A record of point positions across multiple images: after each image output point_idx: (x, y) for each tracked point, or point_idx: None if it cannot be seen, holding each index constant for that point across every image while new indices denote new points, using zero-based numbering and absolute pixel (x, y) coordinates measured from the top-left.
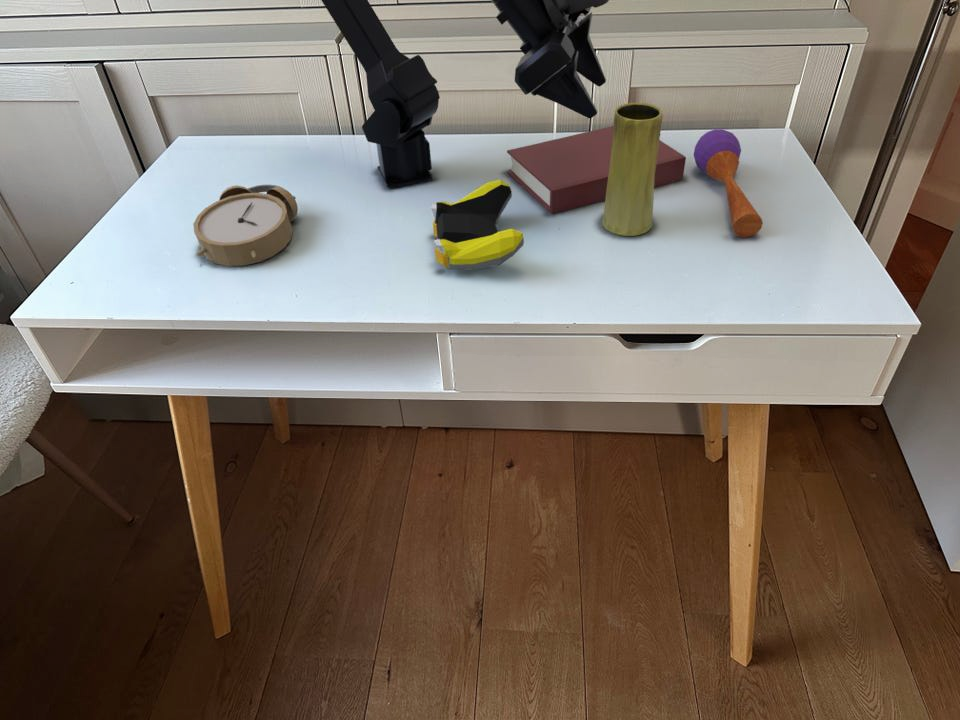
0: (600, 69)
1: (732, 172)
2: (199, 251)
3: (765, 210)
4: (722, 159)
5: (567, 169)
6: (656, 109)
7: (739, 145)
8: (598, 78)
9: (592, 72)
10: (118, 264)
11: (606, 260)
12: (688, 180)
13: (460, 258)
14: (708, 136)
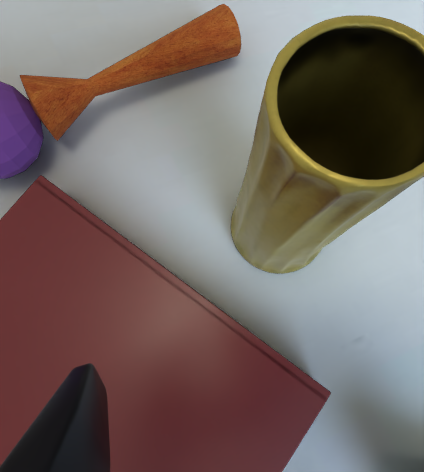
0: (73, 411)
1: (75, 79)
2: None
3: (125, 44)
4: (50, 93)
5: (209, 408)
6: (293, 53)
7: None
8: (96, 406)
9: (89, 459)
10: None
11: (408, 214)
12: (61, 183)
13: None
14: None
